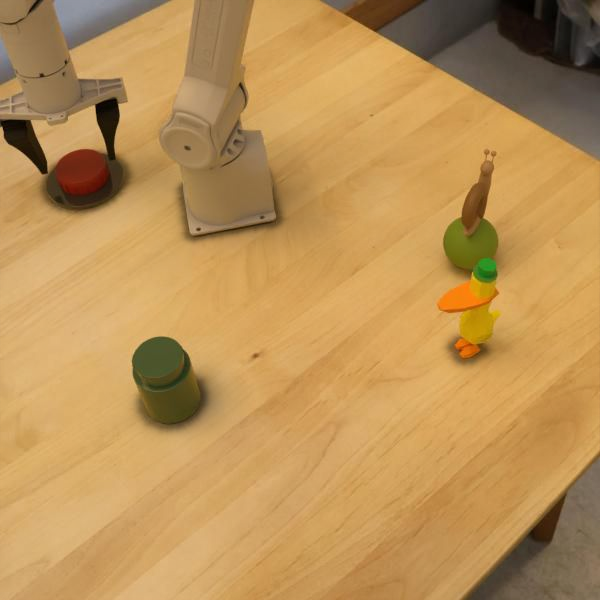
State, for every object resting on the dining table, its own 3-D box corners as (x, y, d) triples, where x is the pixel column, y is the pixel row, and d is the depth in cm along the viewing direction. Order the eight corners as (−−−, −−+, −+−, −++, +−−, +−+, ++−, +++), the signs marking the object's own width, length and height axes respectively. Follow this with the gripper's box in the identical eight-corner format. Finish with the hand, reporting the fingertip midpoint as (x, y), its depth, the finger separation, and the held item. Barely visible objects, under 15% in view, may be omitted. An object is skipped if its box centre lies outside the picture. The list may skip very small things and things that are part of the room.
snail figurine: (504, 242, 89) (519, 155, 80) (486, 286, 85) (499, 201, 76) (454, 228, 91) (463, 142, 81) (434, 271, 87) (441, 186, 78)
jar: (196, 371, 82) (183, 326, 76) (204, 416, 78) (191, 374, 73) (142, 383, 81) (125, 339, 76) (148, 429, 78) (131, 387, 72)
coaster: (121, 149, 102) (120, 146, 102) (126, 201, 97) (125, 198, 96) (46, 163, 102) (45, 159, 101) (47, 216, 96) (45, 212, 96)
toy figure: (442, 375, 79) (451, 295, 70) (425, 347, 81) (431, 265, 72) (506, 351, 81) (524, 268, 71) (487, 323, 83) (502, 240, 73)
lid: (73, 157, 101) (68, 145, 100) (117, 165, 100) (113, 152, 98) (50, 191, 98) (45, 178, 96) (96, 199, 96) (91, 187, 95)
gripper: (-32, 99, 83) (14, 198, 94) (116, 70, 84) (145, 171, 95) (-31, 57, 87) (13, 156, 98) (110, 30, 88) (138, 131, 99)
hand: (78, 161), depth 97 cm, fingers open, 7 cm apart
